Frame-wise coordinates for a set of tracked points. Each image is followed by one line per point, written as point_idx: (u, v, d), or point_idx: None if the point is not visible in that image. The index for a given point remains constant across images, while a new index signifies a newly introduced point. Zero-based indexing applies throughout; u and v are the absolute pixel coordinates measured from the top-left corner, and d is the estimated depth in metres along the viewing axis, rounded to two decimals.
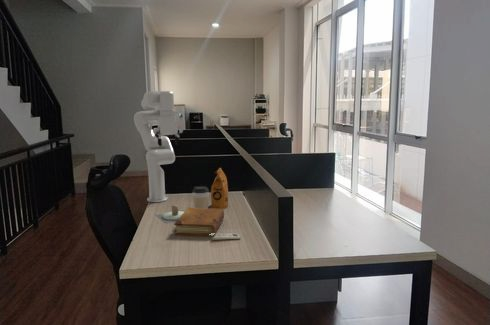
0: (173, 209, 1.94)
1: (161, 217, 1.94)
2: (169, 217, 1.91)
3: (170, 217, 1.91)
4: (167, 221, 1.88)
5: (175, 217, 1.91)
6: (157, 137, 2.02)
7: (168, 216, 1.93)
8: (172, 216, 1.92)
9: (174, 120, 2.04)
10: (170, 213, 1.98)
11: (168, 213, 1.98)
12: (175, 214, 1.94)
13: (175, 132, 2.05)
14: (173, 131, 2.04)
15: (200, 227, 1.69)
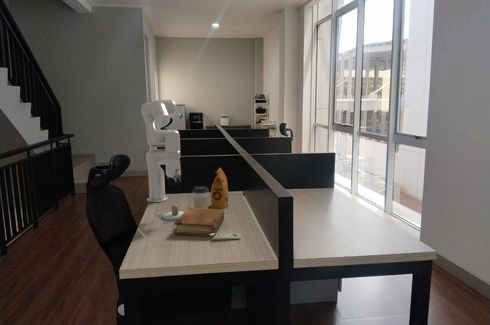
0: (173, 209, 1.94)
1: (161, 217, 1.94)
2: (169, 217, 1.91)
3: (170, 217, 1.91)
4: (167, 221, 1.88)
5: (175, 217, 1.91)
6: (180, 180, 1.87)
7: (168, 216, 1.93)
8: (172, 216, 1.92)
9: None
10: (170, 213, 1.98)
11: (168, 213, 1.98)
12: (175, 214, 1.94)
13: None
14: None
15: (200, 227, 1.69)
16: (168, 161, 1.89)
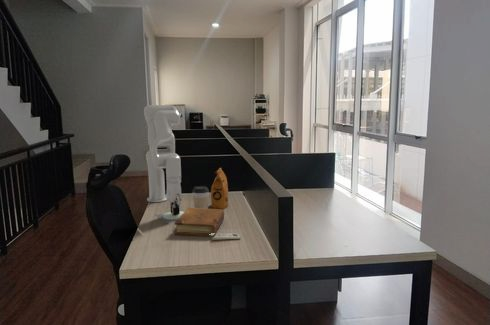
0: None
1: (161, 217, 1.94)
2: (169, 217, 1.91)
3: (170, 217, 1.91)
4: (167, 221, 1.88)
5: (175, 217, 1.91)
6: (178, 206, 1.92)
7: (168, 216, 1.93)
8: (172, 216, 1.92)
9: None
10: (170, 213, 1.98)
11: (168, 213, 1.98)
12: None
13: None
14: None
15: (200, 227, 1.69)
16: (168, 185, 1.92)
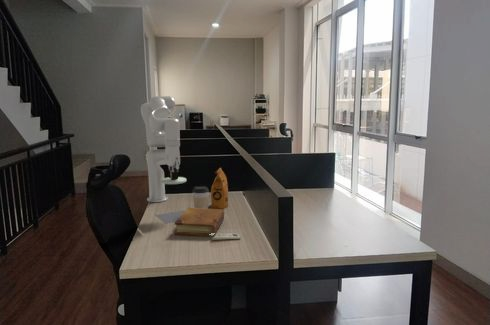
0: None
1: (161, 217, 1.94)
2: (167, 181, 1.88)
3: (168, 181, 1.88)
4: (167, 221, 1.88)
5: (174, 181, 1.88)
6: (177, 170, 1.89)
7: (166, 180, 1.90)
8: (171, 181, 1.89)
9: None
10: (168, 178, 1.95)
11: (166, 178, 1.95)
12: None
13: None
14: None
15: (200, 227, 1.69)
16: (167, 149, 1.89)
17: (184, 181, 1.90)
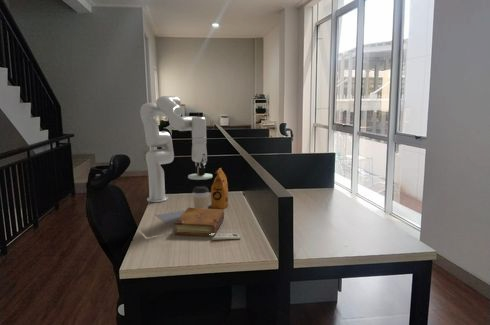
0: (198, 169, 1.98)
1: (161, 217, 1.94)
2: (195, 177, 1.96)
3: (196, 177, 1.95)
4: (167, 221, 1.88)
5: (201, 177, 1.95)
6: (204, 166, 1.97)
7: (194, 176, 1.97)
8: (198, 176, 1.97)
9: None
10: (195, 174, 2.02)
11: (193, 174, 2.02)
12: None
13: None
14: None
15: (200, 227, 1.69)
16: (194, 146, 1.96)
17: (211, 177, 1.98)
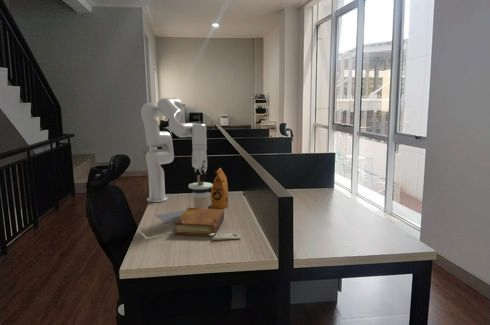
0: (199, 179, 1.99)
1: (161, 217, 1.94)
2: (195, 186, 1.96)
3: (196, 186, 1.96)
4: (167, 221, 1.88)
5: (201, 186, 1.96)
6: (205, 172, 1.96)
7: (194, 186, 1.98)
8: (198, 186, 1.97)
9: None
10: (195, 183, 2.03)
11: (193, 183, 2.03)
12: (201, 184, 1.99)
13: None
14: None
15: (200, 227, 1.69)
16: (194, 153, 1.97)
17: (211, 186, 1.99)
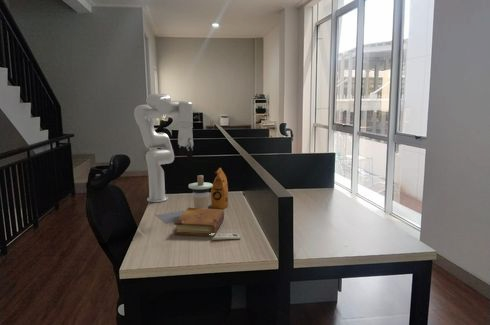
0: (199, 179, 1.99)
1: (161, 217, 1.94)
2: (195, 186, 1.96)
3: (196, 186, 1.96)
4: (167, 221, 1.88)
5: (201, 186, 1.96)
6: (192, 149, 1.97)
7: (194, 186, 1.98)
8: (198, 186, 1.97)
9: None
10: (195, 184, 2.03)
11: (193, 184, 2.03)
12: (201, 184, 2.00)
13: None
14: None
15: (200, 227, 1.69)
16: (180, 130, 1.99)
17: (211, 186, 1.99)
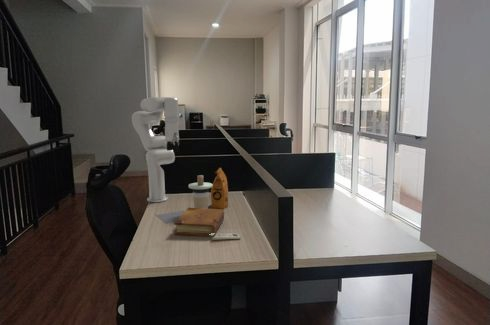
0: (199, 179, 1.99)
1: (161, 217, 1.94)
2: (195, 186, 1.96)
3: (196, 186, 1.96)
4: (167, 221, 1.88)
5: (201, 186, 1.96)
6: (178, 143, 2.01)
7: (194, 186, 1.98)
8: (198, 186, 1.97)
9: None
10: (195, 184, 2.03)
11: (193, 184, 2.03)
12: (201, 184, 2.00)
13: None
14: None
15: (200, 227, 1.69)
16: (167, 126, 2.03)
17: (211, 186, 1.99)
